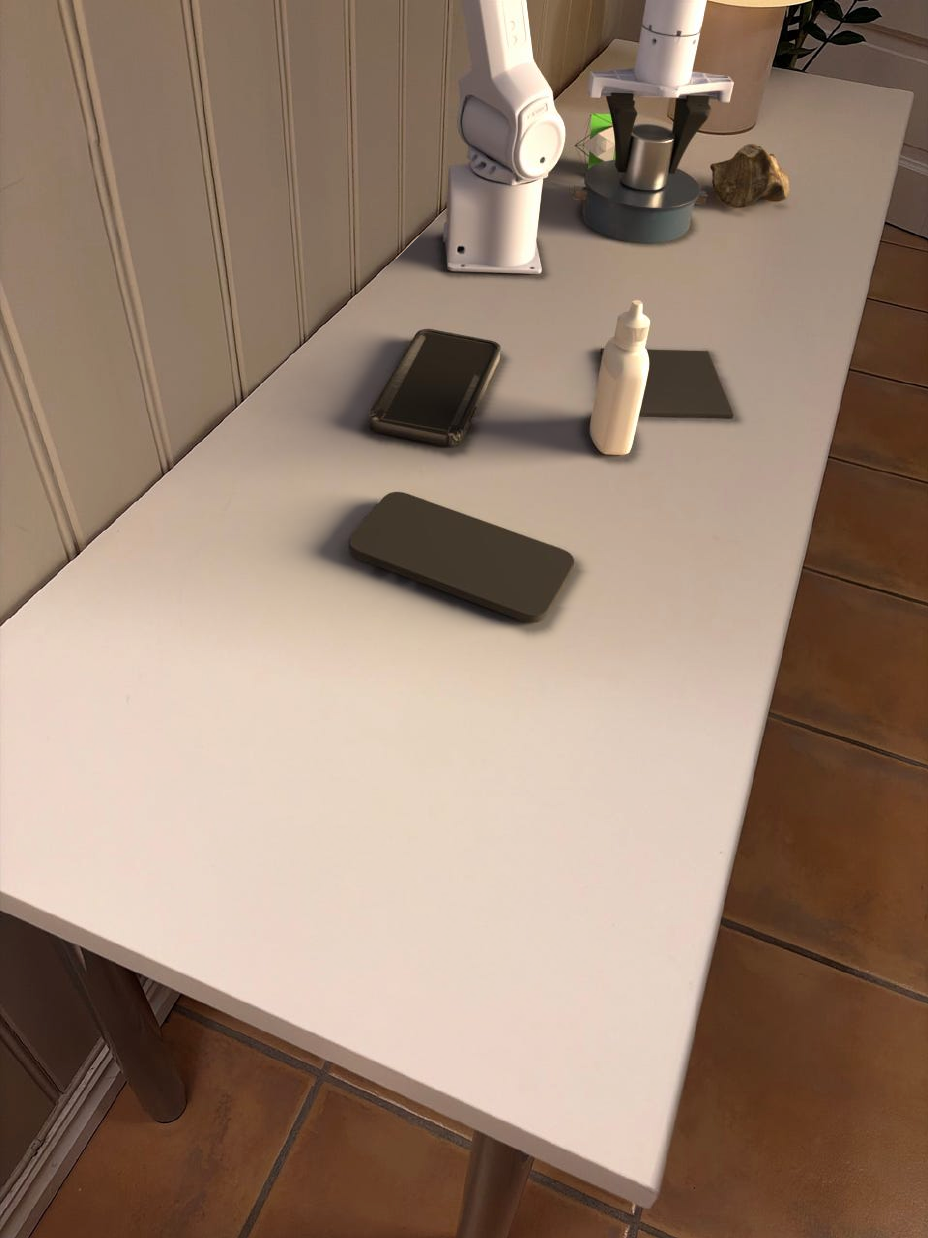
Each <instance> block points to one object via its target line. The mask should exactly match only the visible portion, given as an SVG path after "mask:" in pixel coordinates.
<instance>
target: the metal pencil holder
mask: <svg viewBox="0 0 928 1238" xmlns="http://www.w3.org/2000/svg"><path fill="white" fill-rule="evenodd" d="M675 137H676V135H675V133H674V132H673V131H672V129H670V128H668V127H665V126H664V125H663V126H662V125H659V124H654V123H637V124H634V126H633V130H632V134H631V138H630V143H629V151H628V159H627V165H626V169H625V173H621V175H620V180H621V182H622V183H624V184H625V185H627V186H629V187H631V188H635V189H639V190H658V189H661V188H663V187H664V186H665V185H666V181H667V176H668V171H669V166H670V161H671V157H672V152H673V147H674V142H675Z"/></svg>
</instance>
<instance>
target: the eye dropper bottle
mask: <svg viewBox="0 0 928 1238" xmlns="http://www.w3.org/2000/svg"><path fill="white" fill-rule="evenodd" d="M650 325H651V320H650V319H649V317H648V316H647V315H646V314H644V313H643V301H641V300H640V299H634V300H632V302H631V305H630V308H629V310H628V311H625V312H622V313H620V314H619V315H618V316H617V320H616V325H615V331H614V336H612V337H611V338H609V339H608V340H607V342H606V343H605V345H604V347H603V348H604V352H603V356H601V361H600V368H599V373H598V379H597V383H596V390H595V395H594V401H593V406H592V412H591V416H590V423H589V435H590V437H591V441H592V442H593V444H594V445H595V447H596V449H597V450H598V451H599V452H600V453H601V454H603V455H613V456H615V455H616V456H617V455H618V456H622V455H623V456H624V455H628V454H629V453H630V452H631V449H632V446H633V444H634V439H635V434H636V430H637V425H638V420H639V417H640V416H639V412H640V407H641V403H642V398H643V394H644V389H645V385H646V380H647V375H648V370H649V358H648V353H647V350H648V349H646V345H647V339H648V334H649V330H650Z"/></svg>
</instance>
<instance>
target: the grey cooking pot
mask: <svg viewBox="0 0 928 1238" xmlns="http://www.w3.org/2000/svg"><path fill="white" fill-rule="evenodd" d="M620 175H621V172H618V171H617V169H616V166H615V160H609V161H605V162H601V163H598V164H596V165H594V166H592V167H590V168H589V169H588V168H587V170H585V174H584V177H583V178H584V179H583V183H584V186H576V185H575V186H573V193H572V196H573V199H574V200H583V204H582V210H581V216H582V218H583V221H584V222H585V223H586V224H587V225H588V226H589V228H591V229H593V230H595V231H596V232H597V233H600V234H603V235H604V236H607V237H610V238H612V239H616V240H620V241H624V242H630V243H638V244H658V243H666V242H671V241H675V240H678V239H679V238H681V237H682V236H684V235H685V234H686V233H688V230H689V228H690V225H691V220H692V217H693V211H694V207H695V204H696V205H697V204H698V205H705V204H706V201H707V197H708V194H707V192H706V191H703V190H701V186H700V184H699V182H698V181H697V180H696V179H695V178H694V177H693V176H692V175H690V174H689V173H687V172H686V171H684V170H682V169H679V168H677V170H676V173H675V174H669V173H668V176H667V181H666V185H665V186H664V187H663V188H661V189H658V190H639V189H635V188H631V187H629V186H627V185H625V184H624V183H622V182H621V180H620Z"/></svg>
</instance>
